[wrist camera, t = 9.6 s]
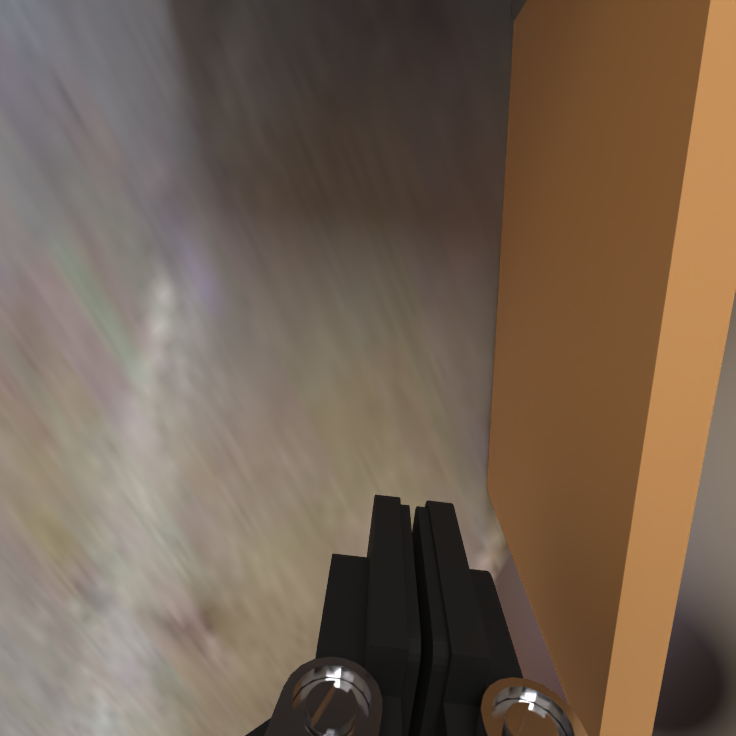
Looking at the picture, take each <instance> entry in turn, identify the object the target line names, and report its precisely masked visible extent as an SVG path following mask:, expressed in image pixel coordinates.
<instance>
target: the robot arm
mask: <svg viewBox="0 0 736 736" xmlns="http://www.w3.org/2000/svg"><path fill="white" fill-rule="evenodd" d="M246 736H588V734H587V733H586V731H585V729H584V727H583V725H582V723H581V722H580V720H579V718H578V717H577V716H576V714H575V713H574V711H573V710H572V708H571V707H570V706H569V705H568V704H567V703H566V702H565V701H564V700H563V699H562V698H561V697H560V696H558V695H557V694H556V693H555V692H553V691H551V690H550V689H548V688H547V687H545V686H543V685H542V684H539V683H536V682H534V681H531V680H528V679H523V676H522V673H521V669H520V666H519V663H518V660H517V657H516V654H515V650H514V647H513V644H512V640H511V637H510V634H509V631H508V627H507V624H506V621H505V618H504V614H503V611H502V608H501V605H500V601H499V598H498V595H497V592H496V588H495V585H494V582H493V579H492V576H491V574H490V573H489V572H488V571H482V570H473V569H469V565H468V561H467V557H466V553H465V549H464V545H463V541H462V537H461V533H460V529H459V525H458V521H457V517H456V513H455V509H454V506H453V504H452V503H444V502H435V501H427V502H426V504H425V507H419V506H417V507H416V510H415V516H414V523H413V530H412V529H411V518H410V507H409V505H401V504H400V497H391V496H382V495H375V497H374V504H373V512H372V520H371V528H370V536H369V544H368V552H367V557H358V556H349V555H341V554H332V559H331V565H330V571H329V577H328V584H327V590H326V596H325V602H324V608H323V614H322V621H321V627H320V633H319V639H318V645H317V651H316V658H315V659H313V660H311V661H309V662H307V663H305V664H303V665H301V666H300V667H299V668H298V669H297V670H295V671H294V672H293V673H292V674H291V675H290V677H289V678H288V680H287V682H286V683H285V685H284V687H283V689H282V692H281V694H280V697H279V699H278V702H277V704H276V707H275V709H274V712H273V714H272V717H271V718H270V719H269V720H267V721H266V722H264V723H263V724H262V725H260V726H259V727H257V728H256V729H254V730H253V731H251V732H250V733H248V734H247V735H246Z"/></svg>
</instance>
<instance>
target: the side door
mask: <svg viewBox="0 0 736 736" xmlns="http://www.w3.org/2000/svg"><path fill="white" fill-rule="evenodd" d="M511 15H512V18H513V20H514V31H513V49H512V66H511V83H510V100H509V117H508V134H507V151H506V168H505V185H504V202H503V219H502V236H501V254H500V271H499V288H498V305H497V322H496V339H495V356H494V373H493V390H492V407H491V424H490V441H489V459H488V476H487V491H488V494H489V497H490V499H491V502H492V504H493V507H494V510H495V512H496V515H497V518H498V520H499V523H500V525H501V528H502V531H503V533H504V536H505V539H506V541H507V544H508V546H509V549H510V552H511V554H512V557H513V560H514V562H515V565H516V567H517V570H518V573H519V575H520V578H521V580H522V583H523V586H524V588H525V591H526V594H527V596H528V599H529V601H530V604H531V607H532V609H533V612H534V614H535V617H536V620H537V622H538V625H539V628H540V630H541V633H542V635H543V638H544V641H545V643H546V646H547V649H548V651H549V654H550V656H551V659H552V662H553V664H554V667H555V669H556V672H557V675H558V677H559V680H560V683H561V685H562V688H563V691H564V693H565V696H566V699H567V701H568V704H569V706H570V707H571V708H572V710H573V711H574V713H575V714H576V716H577V717H578V718H579V720H580V722H581V723H582V725H583V727H584V729H585V731H586V733H587V734H588V736H651V735H652V730H653V725H654V719H655V714H656V709H657V704H658V698H659V693H660V687H661V682H662V677H663V672H664V666H665V661H666V656H667V651H668V645H669V640H670V635H671V629H672V624H673V618H674V613H675V607H676V602H677V597H678V592H679V587H680V581H681V576H682V571H683V566H684V560H685V555H686V550H687V545H688V539H689V534H690V529H691V523H692V518H693V513H694V507H695V502H696V497H697V492H698V486H699V481H700V476H701V470H702V464H703V460H704V454H705V449H706V444H707V439H708V433H709V428H710V422H711V417H712V412H713V407H714V401H715V396H716V391H717V385H718V380H719V375H720V369H721V364H722V359H723V353H724V348H725V343H726V337H727V332H728V327H729V321H730V317H731V311H732V306H733V301H734V295H735V290H736V0H513V1H512V4H511Z"/></svg>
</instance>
